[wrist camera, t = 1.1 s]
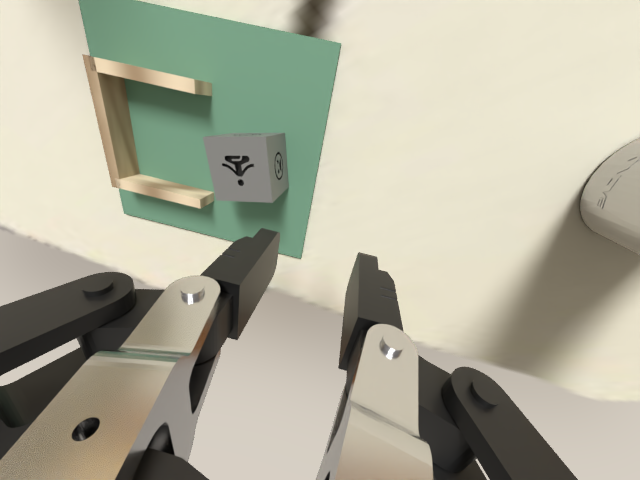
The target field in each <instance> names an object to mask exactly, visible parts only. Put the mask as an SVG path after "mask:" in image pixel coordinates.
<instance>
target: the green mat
mask: <svg viewBox="0 0 640 480" xmlns="http://www.w3.org/2000/svg"><path fill="white" fill-rule="evenodd" d="M78 1H79V5H80V10H81V15H82V19H83V24H84V29H85V33H86V38H87V43H88V47H89V52H90V56H92V57H97V58H101V59H106V60H110V61H115V62H119V63H124V64H128V65H133V66H137V67H142V68H146V69H151V70H155V71H160V72H164V73H169V74H173V75H178V76H182V77H187V78H191V79H196V80H200V81H205V82H209V83H212V96H207V95H199V94H193V93H188V92H184V91H180V90H175V89H171V88H166V87H162V86H158V85H153V84H149V83H144V82H140V81H135V80H131V79H127V78H124V81H125V87H126V93H127V99H128V105H129V112H130V118H131V124H132V130H133V136H134V142H135V148H136V154H137V160H138V166H139V172H140V174H142V175H146V176H150V177H154V178H158V179H162V180H166V181H170V182H174V183H179V184H183V185H187V186H191V187H195V188H199V189H203V190H207V191H211V192H214V187H213V183H212V178H211V173H210V169H209V164H208V159H207V155H206V150H205V145H204V141H203V137H206V136H213V135H221V134H228V133H285V138H286V153H287V167H288V181H289V187H288V188H287V189H286V190H285V191H284V192H283V193H282V194H281V195H280V196H279V197H278V198H277V199H276V200H275V201H274V202H273V203H266V202H242V201H217V200H216V197H215V192H214V201H213V202H211V203H210V204H208V205H206V206H204V207H203V208H201V209H200V208H196V207H192V206H188V205H184V204H180V203H176V202H172V201H168V200H164V199H160V198H156V197H152V196H148V195H144V194H140V193H136V192H132V191H128V190H124V189H120V188H119V192H120V197H121V201H122V206H123V211H124V214H128V215H132V216H136V217H140V218H144V219H148V220H152V221H156V222H159V223H163V224H167V225H171V226H175V227H179V228H183V229H187V230H191V231H195V232H199V233H202V234H206V235H210V236H214V237H218V238H222V239H226V240H230V241H234V242H235V241H236V240H238V239H241V238H243V237H245V236H248V237H252V238H253V237H254V236H255V234H256V233H257V232H258V231H259V230H260V229H261V228H265V229H269V230H273V231H277V232H280V242H279V250H278V253H281V254H285V255H289V256H292V257H296V258H300V259H301V256H302V251H303V245H304V240H305V235H306V229H307V224H308V219H309V213H310V208H311V203H312V197H313V192H314V187H315V181H316V176H317V170H318V165H319V160H320V154H321V149H322V144H323V138H324V133H325V128H326V122H327V117H328V112H329V106H330V101H331V96H332V90H333V85H334V80H335V74H336V69H337V64H338V58H339V53H340V48H341V43H337V42H332V41H327V40H322V39H318V38H313V37H308V36H303V35H298V34H294V33H289V32H284V31H279V30H275V29H270V28H265V27H260V26H255V25H251V24H246V23H241V22H236V21H231V20H227V19H222V18H217V17H212V16H208V15H203V14H198V13H193V12H188V11H184V10H179V9H174V8H169V7H165V6H160V5H155V4H150V3H145V2H141V1H136V0H78Z"/></svg>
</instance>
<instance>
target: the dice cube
mask: <svg viewBox="0 0 640 480" xmlns="http://www.w3.org/2000/svg"><path fill="white" fill-rule="evenodd" d="M203 141H204V145H205V150H206V155H207V159H208V164H209V169H210V173H211V178H212V183H213V187H214V192H215V197H216V200H217V201H242V202H266V203H273V202H274V201H275V200H276V199H277V198H278V197H279V196H280V195H281V194H282V193H283V192H284V191H285V190H286V189H287V188H288V187H289V181H288V167H287V153H286V138H285V133H228V134H221V135H213V136H206V137H203Z"/></svg>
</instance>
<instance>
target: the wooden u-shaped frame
mask: <svg viewBox="0 0 640 480" xmlns="http://www.w3.org/2000/svg"><path fill="white" fill-rule="evenodd" d="M82 55H83V54H82ZM83 59H84V64H85V68H86V72H87V77H88V81H89V86H90V90H91V95H92V99H93V103H94V108H95V112H96V117H97V121H98V125H99V130H100V134H101V139H102V143H103V148H104V152H105V156H106V161H107V165H108V170H109V174H110V178H111V183H112V187H116V188H120V189H124V190H128V191H132V192H136V193H140V194H144V195H148V196H152V197H156V198H160V199H164V200H168V201H172V202H176V203H180V204H184V205H188V206H192V207H196V208H200V209H201V208H203V207H204V206H206V205H208V204H210V203H211V202H213V201H214V192H211V191H207V190H203V189H199V188H195V187H191V186H187V185H183V184H179V183H174V182H170V181H166V180H162V179H158V178H154V177H150V176H146V175H142V174H140V172H139V166H138V160H137V154H136V148H135V142H134V136H133V130H132V124H131V118H130V112H129V105H128V99H127V93H126V87H125V81H124V78H127V79H131V80H135V81H140V82H144V83H149V84H153V85H158V86H162V87H166V88H171V89H175V90H180V91H184V92H188V93H193V94H199V95H207V96H212V83H209V82H205V81H200V80H196V79H191V78H187V77H182V76H178V75H173V74H169V73H164V72H160V71H155V70H151V69H146V68H142V67H137V66H133V65H128V64H124V63H119V62H115V61H110V60H106V59H101V58H97V57H92V56H88V55H83Z"/></svg>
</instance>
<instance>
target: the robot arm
mask: <svg viewBox="0 0 640 480" xmlns="http://www.w3.org/2000/svg"><path fill="white" fill-rule="evenodd" d="M580 211H581V216H582V219H583V220H584V222H585V224H586V225H587V226H588V227H589V228H590V229H591V230H592V231H594V232H596V233H598V234H600V235H601V236H603V237H605V238H607V239H609V240H611V241H613V242H615V243H617V244H619V245H621V246H623V247H625V248H627V249H629V250H631V251H633V252H635V253H637V254H639V255H640V138H639V139H637V140H635V141H633V142H631V143H629V144H627V145H626V146H624V147H623V148H621V149H620V150H618V151H617V152H615V153H614V154H613V155H612V156H611V157H609V158H608V159H607V160H606V161H605V162H604V163H602V165H601V166H600V167H599V168H598V169H597V170H596V171H595V173H594V174H593V175H592V176H591V178H590V180H589V181H588V183H587V185H586V186H585V189H584V191H583V194H582V197H581V204H580ZM279 242H280V232H277V231H273V230H269V229H265V228H261V229H260V230H259V231H258V232H257V233H256V234H255V236H254V237H253V238H252V237H248V236H245V237H243V238H241V239H238V240H236V241H235V242H234V243H233V244H232V245H231V246H230V247H229V248H228V249H226V250H225V251H224V252H223V253H222V255H220V256H219V257H218V258H217V259H216V260H215V261H214V262H213V263H212V264H211V265H210V266H209V267H208V268H207V269H206V270H205V271H204V272H203V273H202V274H201V275H200V276H188V277H184V278H181V279H179V280H176V281H175V282H173V283H171V284H170V285H169V286H168V287H167V288H166V289H165V290H149V289H135V288H134V283H133V280H132V278H131V277H130V276H128V275H126V274H123V273H118V272H105V273H98V274H93V275H90V276H87V277H84V278H81V279H78V280H75V281H72V282H70V283H66V284H64V285H61V286H58V287H55V288H52V289H49V290H46V291H44V292H41V293H38V294H35V295H32V296H29V297H26V298H23V299H21V300H18V301H15V302H12V303H9V304H6V305H3V306H1V307H0V376H1V375H3V374H4V373H6V372H8V371H11V370H12V369H14V368H17V367H18V366H21V365H23V364H25V363H27V362H29V361H31V360H33V359H35V358H37V357H39V356H41V355H43V354H45V353H47V352H49V351H51V350H53V349H55V348H57V347H59V346H61V345H63V344H65V343H67V342H69V341H71V340H73V339H75V338H77V340H78V342H79V344H80V348H78V349H76V350H74V351H72V352H70V353H68V354H67V355H65V356H63V357H61V358H59V359H57V360H55V361H53V362H51V363H49V364H47V365H46V366H44V367H42V368H40V369H38V370H36V371H34V372H32V373H30V374H28V375H26V376H25V377H23V378H21V379H19V380H17V381H15V382H13V383H10V384H8V385H4V386H0V480H209V479H207V478H206V477H205V476H204V475H203V474H201V473H200V472H199V471H198V470H196V469H195V468H194V467H193V466H191V465H190V464H189V463H188V459H189V456H190V452H191V448H192V445H193V440H194V434H195V428H196V424H197V420H198V416H199V414H200V411H201V408H202V405H203V403H204V399H205V397H206V394H207V391H208V388H209V386H210V383H211V380H212V377H213V374H214V371H215V368H216V366H217V363H218V360H219V357H220V352H221V347H222V345H223V343H224V342H225V340H226V339H227V337H228V338H232V339H236V340H238V338H239V336H240V335H241V333H242V331H243V329H244V327H245V326H246V324H247V322H248V320H249V318H250V316H251V315H252V313H253V311H254V310H255V308H256V306H257V304H258V302H259V301H260V299H261V297H262V295H263V293H264V292H265V290H266V288H267V286H268V285H269V283H270V281H271V279H272V277H273V275H274V272H275V269H276V265H277V257H278V250H279ZM395 292H396V290H395V284H394V281H393V279H392V278H391V277H390V275H389V274H388V272H385V271H381V270H378V260H377V257H375V256H371V255H367V254H364V253H360V252H359V253H358V255H357V258H356V261H355V264H354V267H353V270H352V273H351V277H350V280H349V283H348V286H347V291H346V297H345V307H344V317H343V327H342V337H341V349H340V358H339V369H343V370H346V371H347V380H346V384H345V386H344V389H343V391H342V395H341V398H340V402H339V405H338V409H337V412H336V415H335V419H334V423H333V426H332V430H331V433H330V436H329V440H328V443H327V447H326V450H325V454H324V457H323V460H322V463H321V466H320V469H319V472H318V475H317V478H316V480H487V479H486V477H485V476H484V474H483V473H482V471H481V469H480V467H479V466H478V464H477V462H476V461H475V460H476V459H478V461H479V462H480V464H481V466H482V467H483V469H484V471H485V472H486V474H487V475H488V477H489V479H490V480H578V479H577V478H576V477H575V476H574V475H573V473H572V472H571V471H570V470H569V469H568V467H567V466H566V465H565V464H564V462H563V461H562V460H561V459H560V458H559V456H558V455H557V454H556V453H555V452H554V450H553V449H552V448H551V447H550V446H549V445H548V443H547V442H546V441H545V440H544V439H543V437H542V436H541V435H540V434H539V433H538V431H537V430H536V429H535V428H534V426H533V425H532V424H531V423H530V422H529V421H528V419H527V418H526V417H525V416H524V414H523V413H522V412H521V411H520V410H519V408H518V407H517V406H516V405H515V404H514V402H513V401H512V400H511V399H510V397H509V396H508V395H507V394H506V393H505V392H504V390H503V389H502V388H501V387H500V386H499V385H498V384H497V383H496V382H495V381H493V380H492V379H491V378H490V377H488V376H487V375H485V374H484V373H481V372H480V371H478V370H476V369H473V368H469V367H460V368H457V369H455V371H453V373H452V374H449V373H447V372H446V371H444V370H442V369H440V368H438V367H437V366H435V365H433V364H431V363H429V362H428V361H426V360H424V359H423V358H422V357H420V356H419V355H418V351H417V348H416V346H415V344H414V342H413V341H412V340H411V338H410V337H409V336H408V335H407V334H406V333H404V332H403V327H402V322H401V316H400V311H399V306H398V301H397V295H396V293H395Z"/></svg>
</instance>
